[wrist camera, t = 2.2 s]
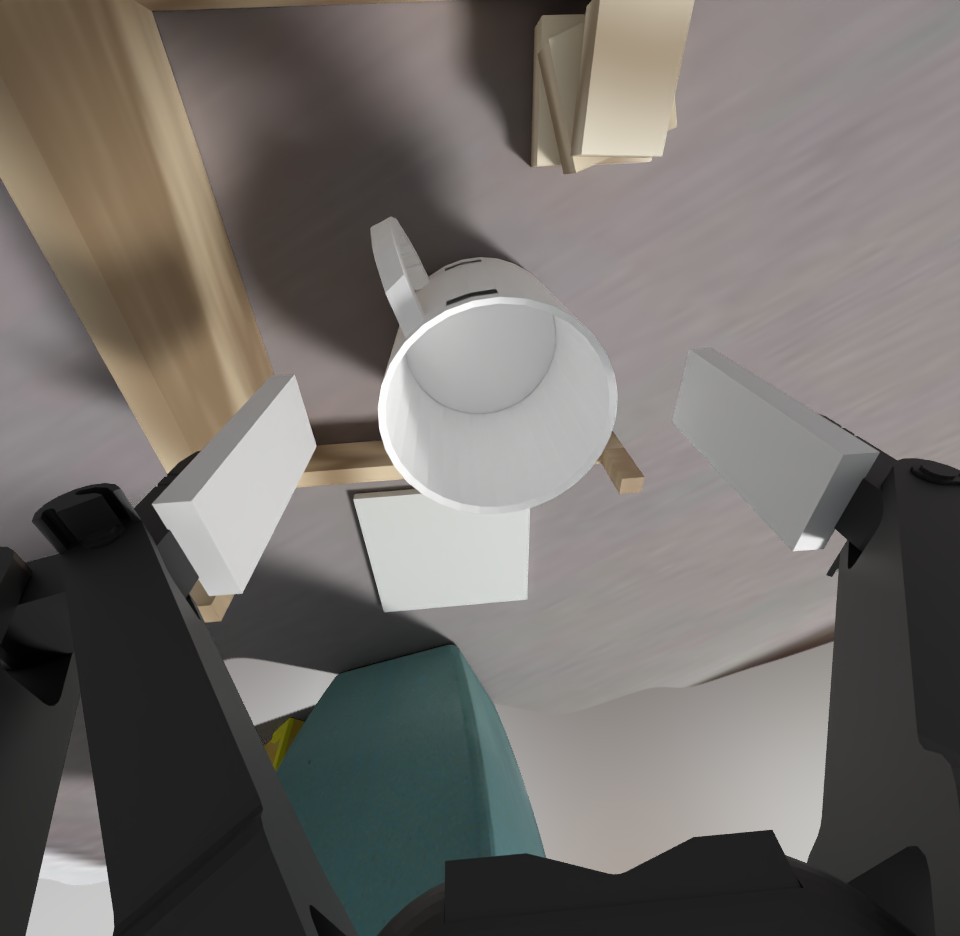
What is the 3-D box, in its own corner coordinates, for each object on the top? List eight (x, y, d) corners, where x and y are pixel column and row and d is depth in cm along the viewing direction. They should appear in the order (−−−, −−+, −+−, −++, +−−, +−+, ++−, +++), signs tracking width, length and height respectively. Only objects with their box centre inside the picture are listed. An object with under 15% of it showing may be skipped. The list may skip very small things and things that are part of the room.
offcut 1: (528, 167, 20) (536, 166, 18) (532, 31, 17) (542, 15, 15) (633, 163, 20) (651, 161, 18) (652, 28, 17) (675, 12, 16)
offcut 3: (645, 157, 16) (662, 156, 15) (570, 156, 16) (581, 154, 15) (672, 11, 14) (695, -6, 13) (586, 6, 14) (601, -11, 13)
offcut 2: (563, 174, 18) (576, 172, 17) (537, 54, 16) (548, 39, 14) (654, 132, 18) (677, 126, 16) (640, 2, 15) (664, -20, 14)
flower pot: (271, 660, 38) (7, 1398, 15) (477, 602, 36) (544, 1371, 13) (371, 748, 49) (308, 1254, 26) (534, 708, 47) (625, 1225, 24)
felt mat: (384, 606, 35) (384, 612, 35) (354, 493, 29) (353, 499, 28) (525, 593, 36) (527, 599, 35) (529, 479, 29) (530, 484, 29)
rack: (282, 461, 27) (188, 624, 17) (101, -28, 15) (-564, -444, 5) (605, 436, 28) (697, 578, 18) (675, -47, 16) (1067, -436, 6)
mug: (579, 380, 25) (639, 466, 18) (444, 438, 27) (445, 540, 19) (505, 153, 19) (549, 131, 11) (333, 246, 20) (268, 283, 13)
